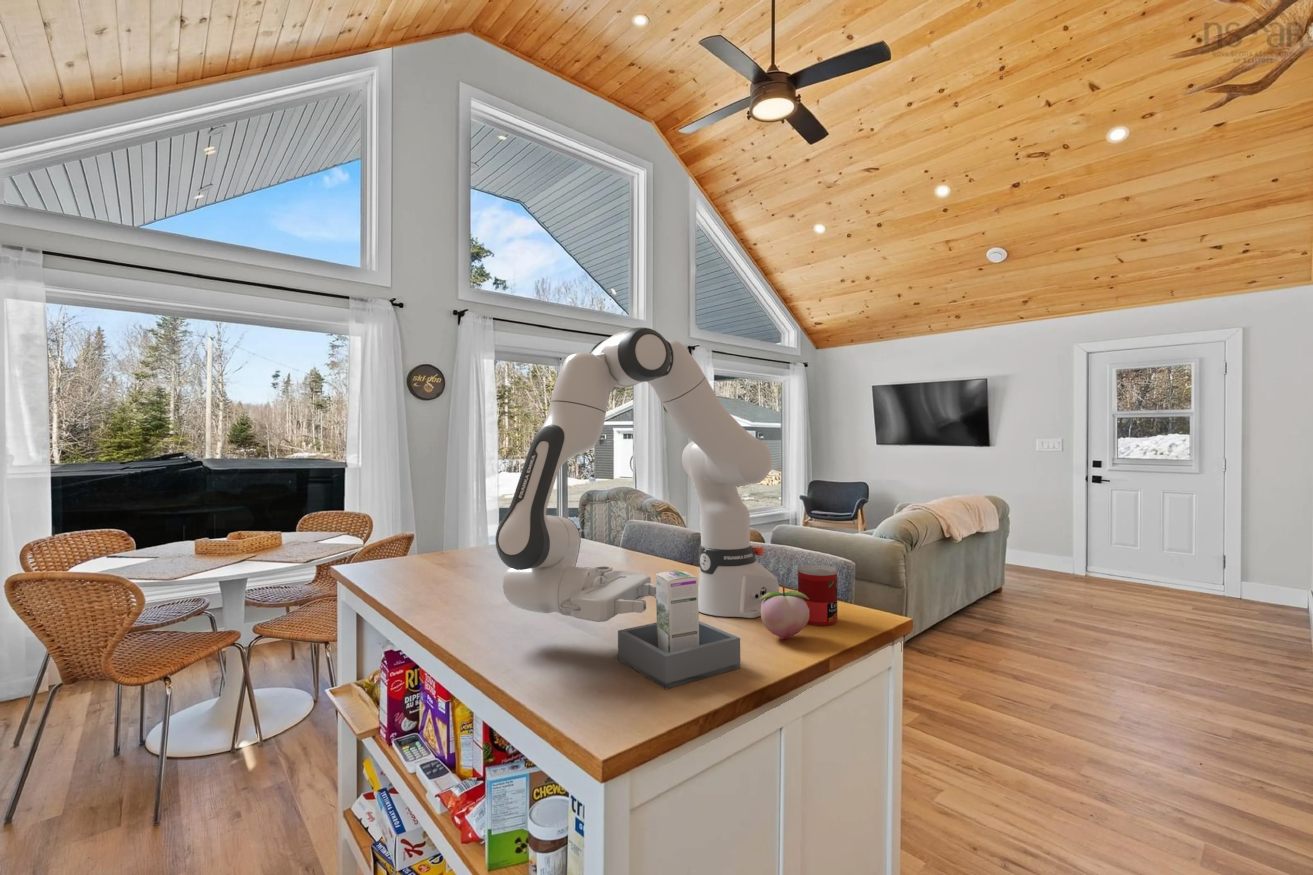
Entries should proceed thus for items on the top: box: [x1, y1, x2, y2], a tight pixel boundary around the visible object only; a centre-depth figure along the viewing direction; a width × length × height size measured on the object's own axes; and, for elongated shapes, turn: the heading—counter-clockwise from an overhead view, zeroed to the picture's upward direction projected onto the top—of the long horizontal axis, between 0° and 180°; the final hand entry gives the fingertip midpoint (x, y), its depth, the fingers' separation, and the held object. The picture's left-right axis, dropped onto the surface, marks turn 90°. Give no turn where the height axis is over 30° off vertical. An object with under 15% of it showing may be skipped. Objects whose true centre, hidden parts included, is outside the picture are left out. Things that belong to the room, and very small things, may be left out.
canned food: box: [797, 564, 838, 627], centre depth 125 cm, size 8×8×11 cm
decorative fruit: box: [759, 586, 809, 640], centre depth 114 cm, size 9×8×10 cm
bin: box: [617, 620, 741, 690], centre depth 102 cm, size 15×15×5 cm
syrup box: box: [655, 569, 700, 653], centre depth 102 cm, size 6×6×14 cm
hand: (655, 599), depth 103 cm, fingers open, 8 cm apart
